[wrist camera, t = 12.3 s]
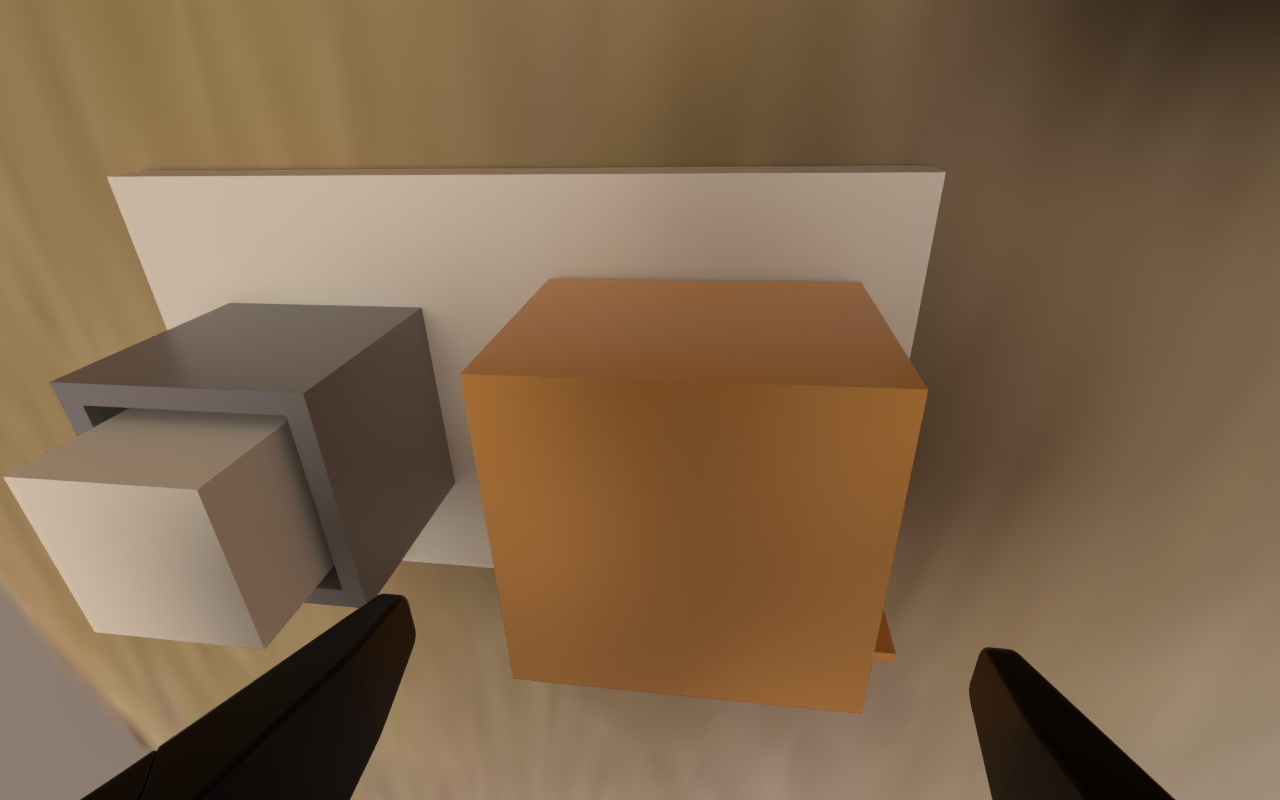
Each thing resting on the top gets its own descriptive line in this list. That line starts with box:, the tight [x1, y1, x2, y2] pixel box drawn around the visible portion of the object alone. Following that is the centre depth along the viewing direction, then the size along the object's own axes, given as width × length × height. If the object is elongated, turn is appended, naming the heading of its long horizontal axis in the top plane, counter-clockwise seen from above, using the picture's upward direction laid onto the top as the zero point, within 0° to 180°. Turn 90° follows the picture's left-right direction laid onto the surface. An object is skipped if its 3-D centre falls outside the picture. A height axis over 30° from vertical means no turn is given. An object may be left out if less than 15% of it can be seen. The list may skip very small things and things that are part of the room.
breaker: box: [3, 408, 334, 650], centre depth 13 cm, size 4×4×4 cm
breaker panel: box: [50, 165, 946, 663], centre depth 15 cm, size 20×12×6 cm, turn 91°
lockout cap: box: [460, 279, 928, 714], centre depth 14 cm, size 7×7×6 cm
